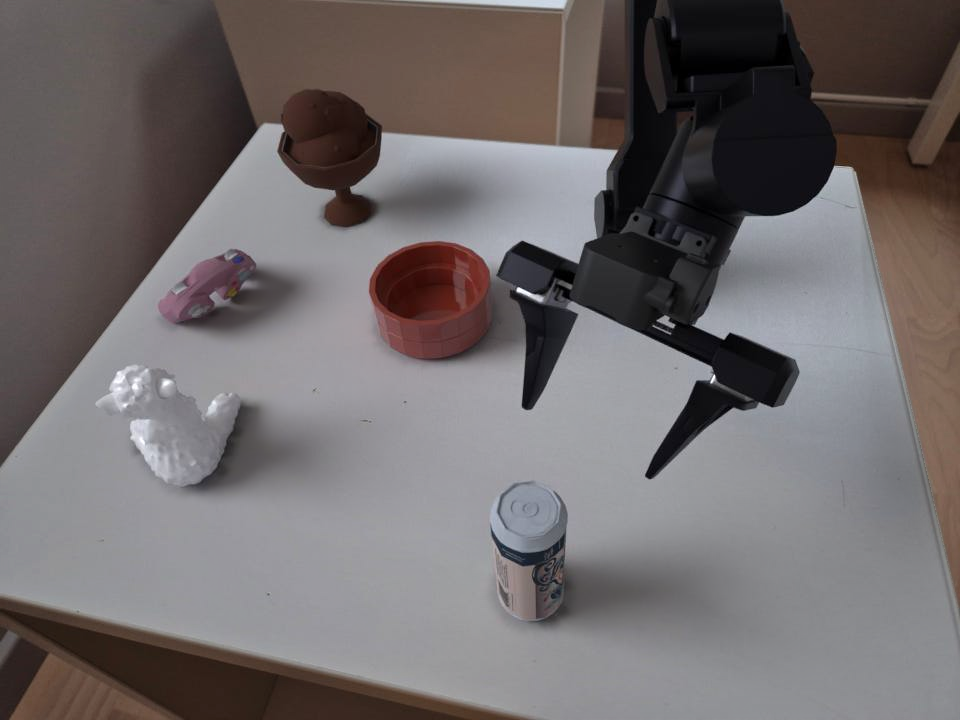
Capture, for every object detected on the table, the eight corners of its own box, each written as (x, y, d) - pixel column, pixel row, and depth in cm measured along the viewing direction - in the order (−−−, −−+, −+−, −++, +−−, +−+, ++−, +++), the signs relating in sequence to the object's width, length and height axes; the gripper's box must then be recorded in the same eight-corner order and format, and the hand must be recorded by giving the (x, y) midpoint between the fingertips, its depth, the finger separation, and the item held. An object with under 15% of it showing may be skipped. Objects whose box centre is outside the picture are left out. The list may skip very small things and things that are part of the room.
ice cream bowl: (376, 248, 80) (349, 123, 69) (283, 234, 83) (242, 112, 71) (409, 189, 87) (390, 66, 75) (322, 178, 89) (290, 57, 78)
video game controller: (185, 344, 75) (180, 314, 68) (154, 312, 75) (146, 280, 69) (262, 289, 79) (265, 257, 73) (233, 259, 80) (233, 224, 73)
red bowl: (470, 267, 77) (466, 229, 74) (509, 340, 70) (508, 303, 67) (365, 297, 75) (356, 260, 72) (395, 376, 68) (387, 339, 65)
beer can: (558, 629, 52) (562, 550, 43) (491, 617, 53) (481, 537, 44) (567, 566, 55) (572, 479, 46) (504, 555, 56) (496, 469, 47)
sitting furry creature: (243, 399, 68) (196, 305, 59) (256, 475, 62) (207, 385, 53) (136, 430, 66) (71, 339, 57) (139, 512, 61) (68, 425, 52)
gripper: (508, 128, 42) (405, 377, 45) (841, 249, 34) (689, 544, 37) (579, 175, 52) (491, 377, 55) (850, 278, 44) (730, 510, 47)
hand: (585, 441), depth 48 cm, fingers open, 9 cm apart
